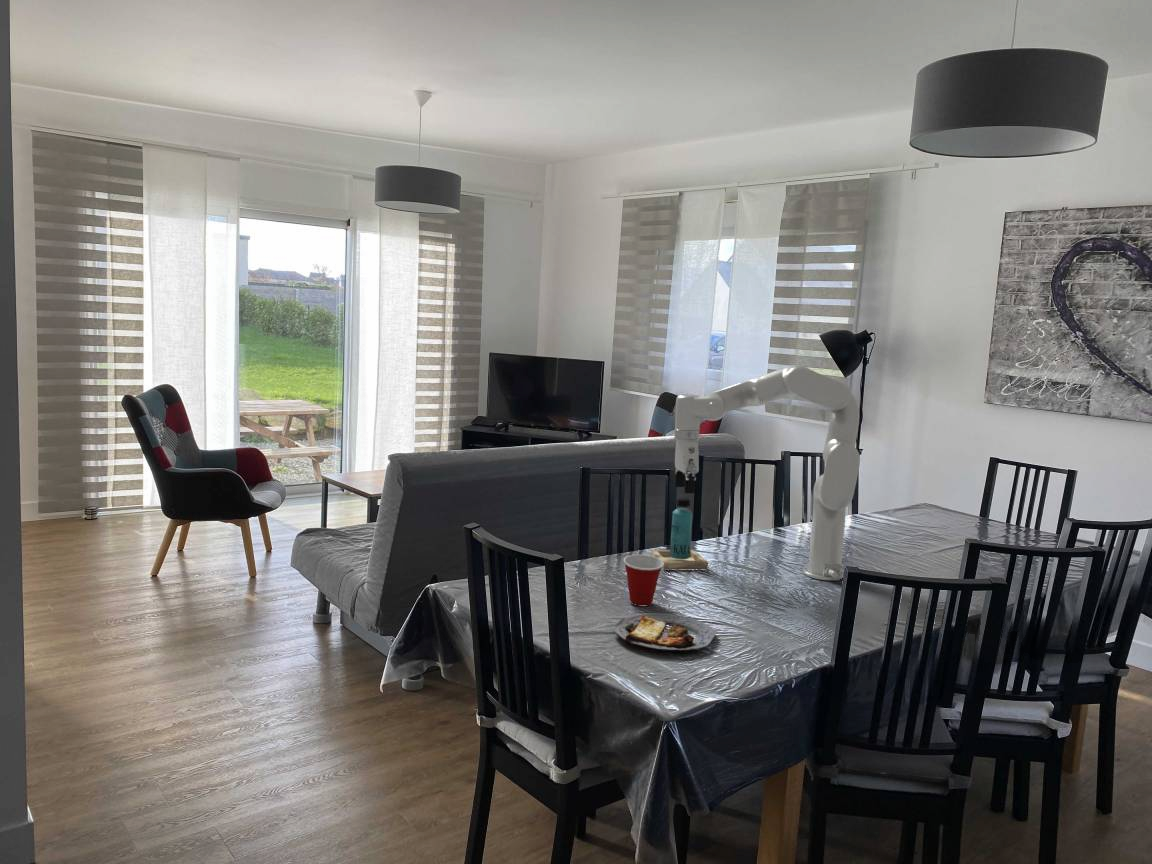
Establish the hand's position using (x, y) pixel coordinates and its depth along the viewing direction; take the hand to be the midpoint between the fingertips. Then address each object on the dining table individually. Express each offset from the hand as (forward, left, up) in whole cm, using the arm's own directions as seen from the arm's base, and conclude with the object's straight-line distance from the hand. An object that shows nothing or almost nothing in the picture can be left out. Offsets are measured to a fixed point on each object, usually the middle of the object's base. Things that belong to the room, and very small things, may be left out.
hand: (684, 489), depth 275 cm
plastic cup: (-36, +22, -24) cm, 48 cm away
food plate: (-61, +23, -24) cm, 69 cm away
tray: (0, 0, -24) cm, 24 cm away
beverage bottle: (0, 0, -23) cm, 23 cm away
